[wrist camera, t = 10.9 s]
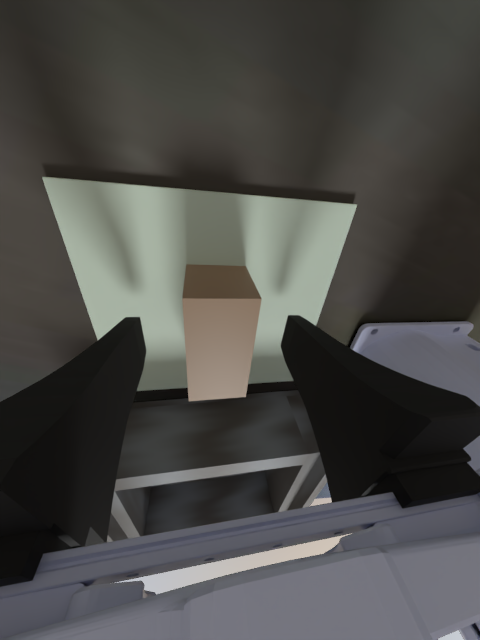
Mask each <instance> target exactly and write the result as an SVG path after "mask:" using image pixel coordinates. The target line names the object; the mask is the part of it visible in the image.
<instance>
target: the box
mask: <svg viewBox="0 0 480 640" xmlns="http://www.w3.org/2000/svg"><path fill="white" fill-rule="evenodd" d="M326 483H327V478H326V474H325V470H324V466H323V463H322V459H321V456H320V452H319V448H318V445H317V442H316V438H315V435H314V432H313V429H312V425H311V422H310V419H309V416H308V413H307V411H306V408H305V405H304V403H303V400H302V398H301V396H300V393H299V391H298V390H292V391H279V392H266V393H252V394H246V397H239V398H226V399H213V400H199V401H189V398H186V399H173V400H160V401H146V402H133V404H132V407H131V410H130V413H129V417H128V421H127V425H126V430H125V435H124V440H123V444H122V450H121V455H120V460H119V466H118V471H117V477H116V483H115V489H114V495H113V502H112V509H111V516H110V522H109V529H108V537H107V542H112V541H118V540H124V539H129V538H135V537H141V536H146V535H152V534H158V533H163V532H169V531H175V530H180V529H186V528H192V527H197V526H203V525H209V524H214V523H220V522H225V521H231V520H237V519H242V518H248V517H254V516H259V515H265V514H271V513H276V512H282V511H288V510H293V509H299V508H305V507H309V506H310V505H311V503H312V502H313V501H314V499H315V498H316V497H317V495H318V494H319V492H320V491H321V490H322V488H323V487H324V486H325V484H326Z"/></svg>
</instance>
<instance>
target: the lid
mask: <svg viewBox="0 0 480 640" xmlns="http://www.w3.org/2000/svg"><path fill="white" fill-rule="evenodd" d="M42 179H43V181H44V184H45V187H46V190H47V193H48V196H49V199H50V202H51V205H52V208H53V211H54V214H55V217H56V220H57V222H58V225H59V228H60V231H61V234H62V237H63V240H64V243H65V246H66V249H67V252H68V255H69V258H70V260H71V263H72V266H73V269H74V272H75V275H76V278H77V281H78V284H79V287H80V290H81V293H82V296H83V299H84V301H85V304H86V307H87V310H88V313H89V316H90V319H91V322H92V325H93V328H94V331H95V334H96V337H97V339H98V340H99V339H100V338H101V337H103V336H104V335H105V334H106V333H107V332H109V331H110V330H111V329H112V328H113V327H114V326H116V325H117V324H118V323H119V322H120V321H121V320H123V319H124V318H125V317H140V320H141V325H142V330H143V335H144V340H145V345H146V357H145V363H144V368H143V372H142V375H141V379H140V382H139V385H138V388H137V391H146V390H161V389H176V388H188V398H189V401H199V400H213V399H226V398H239V397H246V393H247V386H248V384H253V383H268V382H283V381H294V380H293V378H292V376H291V374H290V372H289V369H288V367H287V365H286V363H285V360H284V356H283V353H282V349H281V346H280V345H281V341H282V337H283V333H284V329H285V325H286V321H287V317H288V315H300V316H301V317H303V318H305V319H306V320H308V321H309V322H311V323H312V324H314V325H315V326H316V324H317V321H318V318H319V316H320V313H321V310H322V307H323V304H324V301H325V298H326V295H327V292H328V289H329V286H330V283H331V280H332V277H333V275H334V272H335V269H336V266H337V263H338V260H339V257H340V254H341V251H342V248H343V245H344V242H345V239H346V236H347V233H348V231H349V228H350V225H351V222H352V219H353V216H354V213H355V210H356V207H357V205H356V204H349V203H338V202H326V201H315V200H304V199H292V198H281V197H270V196H259V195H247V194H236V193H225V192H214V191H202V190H191V189H180V188H168V187H157V186H146V185H135V184H123V183H112V182H101V181H89V180H78V179H67V178H56V177H42Z"/></svg>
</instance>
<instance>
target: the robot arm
mask: <svg viewBox="0 0 480 640" xmlns="http://www.w3.org/2000/svg"><path fill="white" fill-rule="evenodd" d="M472 328H473V324H472V323H470V322H467V321H462V322H411V323H367V324H364V325H362V326H361V327H360V328H359V330H358V332H357V334H356V336H355V338H354V340H353V342H352V344H351V346H350V348H349V347H347V346H345V345H344V344H342V343H340V342H339V341H337V340H336V339H334V338H333V337H331V336H330V335H328V334H327V333H325V332H324V331H322V330H321V329H319V328H318V327H317V326H315V325H314V324H312V323H311V322H309V321H308V320H306V319H305V318H303V317H301V316H300V315H288V317H287V321H286V325H285V329H284V333H283V337H282V341H281V345H280V346H281V349H282V353H283V356H284V360H285V363H286V365H287V367H288V369H289V372H290V374H291V376H292V378H293V380H294V383H295V385H296V387H297V389H298V391H299V393H300V396H301V398H302V400H303V403H304V405H305V408H306V411H307V413H308V416H309V419H310V422H311V425H312V429H313V432H314V435H315V438H316V442H317V445H318V448H319V452H320V456H321V459H322V463H323V466H324V470H325V474H326V478H327V482H328V486H329V491H330V495H331V499H332V503H327V504H322V505H316V506H310V507H305V508H299V509H293V510H288V511H282V512H276V513H271V514H265V515H259V516H254V517H248V518H242V519H237V520H231V521H225V522H220V523H214V524H209V525H203V526H197V527H192V528H186V529H180V530H175V531H169V532H163V533H158V534H152V535H146V536H141V537H135V538H129V539H124V540H118V541H112V542H107V537H108V529H109V522H110V516H111V509H112V502H113V495H114V489H115V483H116V477H117V471H118V466H119V460H120V455H121V450H122V444H123V440H124V435H125V430H126V425H127V421H128V417H129V413H130V410H131V407H132V404H133V401H134V398H135V394H136V391H137V388H138V385H139V382H140V379H141V375H142V372H143V368H144V363H145V357H146V345H145V340H144V335H143V330H142V325H141V320H140V317H125V318H124V319H123V320H121V321H120V322H119V323H118V324H117V325H116V326H114V327H113V328H112V329H111V330H110V331H109V332H107V333H106V334H105V335H104V336H103V337H101V338H100V339H99V340H98V341H97V342H95V343H94V344H93V345H91V346H90V347H89V348H87V349H86V350H85V351H83V352H82V353H81V354H79V355H78V356H77V357H75V358H74V359H73V360H71V361H70V362H68V363H67V364H65V365H64V366H62V367H61V368H59V369H58V370H56V371H55V372H53V373H51V374H50V375H48V376H47V377H45V378H43V379H42V380H40V381H38V382H36V383H34V384H33V385H31V386H29V387H27V388H25V389H24V390H22V391H20V392H18V393H16V394H15V395H13V396H11V397H9V398H7V399H5V400H3V401H1V402H0V640H438V638H440V637H443V636H445V635H447V634H450V633H452V632H455V631H457V630H459V632H460V633H461V635H462V637H463V639H464V640H480V343H478V342H477V341H475V340H473V339H472V338H470V337H469V336H467V335H468V333H469V332H470V331H471V330H472ZM350 533H353V534H351V535H348V536H345V537H342V538H341V539H340V541H339V543H338V544H337V545H336V546H335V547H334V548H332V549H331V550H329V551H327V552H326V553H324V554H321V555H316V556H310V557H305V558H300V559H295V560H290V561H285V562H281V563H277V564H272V565H267V566H263V567H258V568H254V569H250V570H246V571H242V572H238V573H234V574H230V575H226V576H222V577H218V578H214V579H211V580H207V581H203V582H200V583H196V584H192V585H189V586H185V587H182V588H178V589H175V590H171V591H168V592H164V593H161V594H157V595H156V594H155V593H154V592H149V591H145V590H144V583H143V582H142V581H133V582H122V583H115V582H119V581H124V580H129V579H134V578H139V577H143V576H148V575H153V574H158V573H163V572H168V571H172V570H177V569H182V568H187V567H192V566H196V565H201V564H206V563H211V562H216V561H221V560H225V559H230V558H235V557H240V556H244V555H249V554H254V553H259V552H264V551H269V550H273V549H278V548H283V547H288V546H292V545H297V544H303V543H307V542H312V541H316V540H322V539H327V538H331V537H336V536H341V535H346V534H350Z"/></svg>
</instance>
